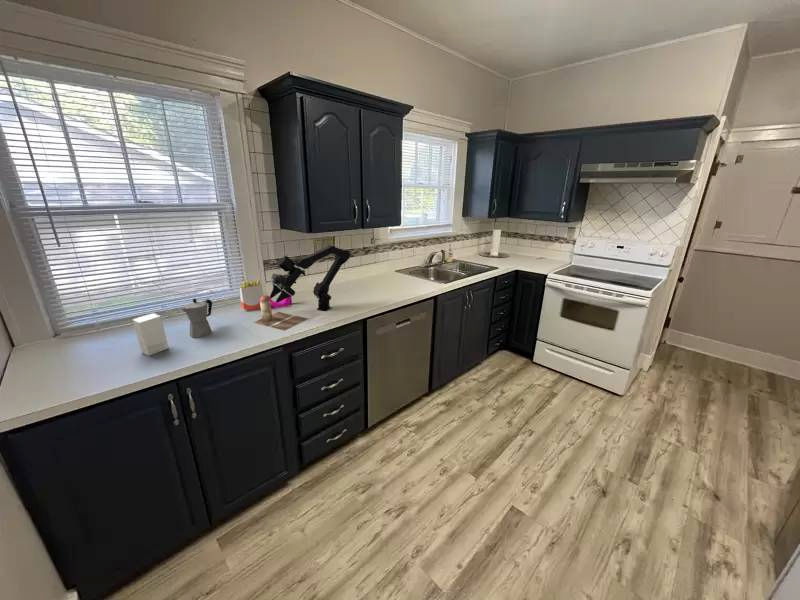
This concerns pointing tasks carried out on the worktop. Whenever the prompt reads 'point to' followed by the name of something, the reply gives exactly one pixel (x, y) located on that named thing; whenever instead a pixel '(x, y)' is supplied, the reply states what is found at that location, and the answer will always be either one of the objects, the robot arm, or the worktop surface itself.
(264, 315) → the wooden pin
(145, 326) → the skincare box
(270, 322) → the walnut board
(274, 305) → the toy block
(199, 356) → the worktop surface
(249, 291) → the french fries container
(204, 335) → the coffeepot
